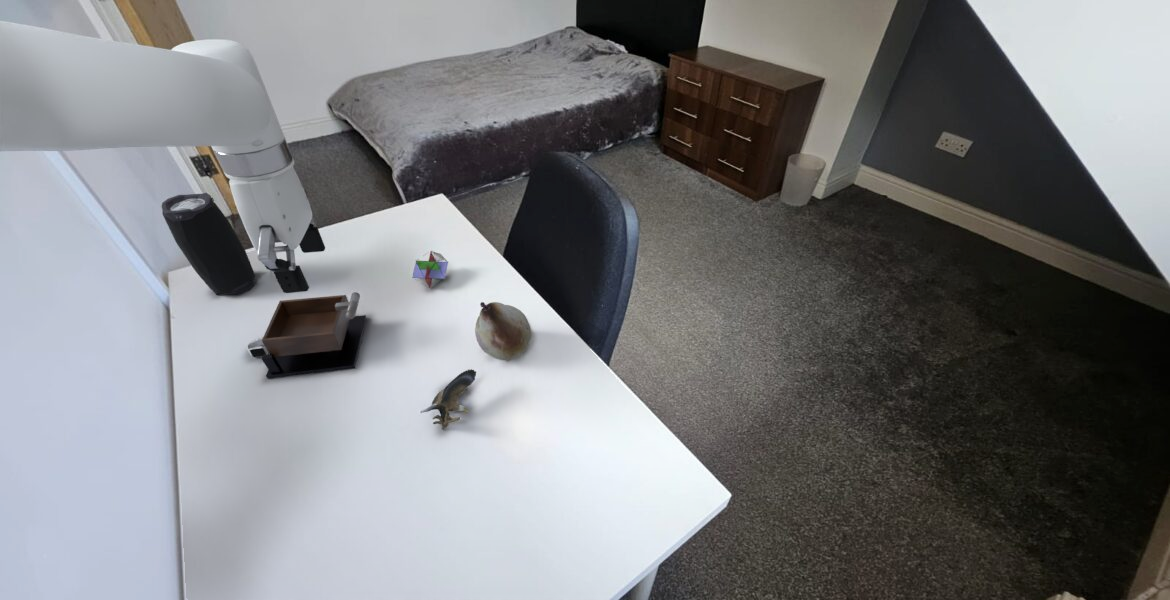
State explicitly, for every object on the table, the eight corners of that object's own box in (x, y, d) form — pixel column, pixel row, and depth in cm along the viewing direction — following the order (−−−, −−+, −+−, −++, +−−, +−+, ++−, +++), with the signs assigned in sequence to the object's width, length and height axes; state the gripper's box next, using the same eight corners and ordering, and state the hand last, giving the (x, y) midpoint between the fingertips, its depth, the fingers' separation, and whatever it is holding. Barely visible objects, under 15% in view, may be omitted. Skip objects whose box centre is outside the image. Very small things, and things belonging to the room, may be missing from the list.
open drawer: (271, 357, 78) (255, 331, 74) (288, 317, 86) (274, 291, 82) (361, 347, 81) (350, 321, 77) (370, 309, 88) (361, 283, 84)
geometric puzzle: (441, 290, 95) (441, 250, 94) (407, 289, 95) (407, 249, 94) (451, 288, 102) (452, 251, 101) (419, 287, 102) (420, 250, 101)
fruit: (468, 345, 86) (458, 295, 78) (511, 322, 91) (505, 273, 83) (500, 378, 81) (492, 328, 73) (543, 352, 85) (541, 302, 78)
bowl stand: (267, 379, 79) (255, 360, 76) (289, 326, 89) (279, 308, 86) (355, 368, 81) (347, 350, 78) (367, 318, 91) (360, 300, 88)
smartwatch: (249, 337, 84) (274, 334, 85) (254, 346, 85) (278, 343, 86) (242, 350, 81) (268, 346, 82) (247, 359, 82) (272, 356, 83)
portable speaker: (265, 270, 101) (221, 187, 89) (250, 298, 95) (200, 213, 82) (221, 273, 100) (171, 190, 87) (203, 302, 93) (145, 216, 80)
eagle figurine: (478, 429, 72) (488, 376, 77) (444, 410, 67) (457, 356, 73) (442, 437, 75) (454, 387, 81) (408, 420, 70) (423, 368, 76)
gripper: (246, 131, 63) (294, 239, 74) (189, 191, 50) (257, 311, 61) (307, 129, 64) (345, 236, 75) (266, 187, 51) (319, 306, 62)
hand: (306, 269), depth 68 cm, fingers open, 9 cm apart
